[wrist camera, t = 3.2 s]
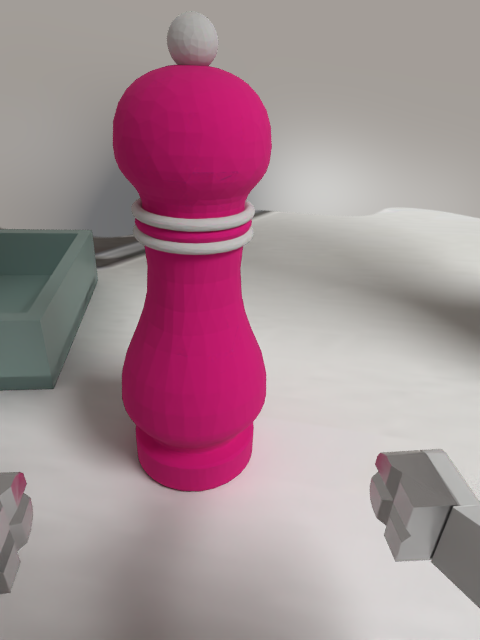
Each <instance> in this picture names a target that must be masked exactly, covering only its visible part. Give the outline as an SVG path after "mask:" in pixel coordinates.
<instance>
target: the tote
mask: <svg viewBox="0 0 480 640" xmlns="http://www.w3.org/2000/svg"><path fill="white" fill-rule="evenodd" d="M97 281H98V277H97V269H96V260H95V252H94V244H93V235H92V230H26V229H0V390H25V389H54V386H55V384H56V381H57V379H58V377H59V374H60V372H61V369H62V367H63V364H64V362H65V359H66V357H67V355H68V352H69V350H70V347H71V345H72V342H73V340H74V337H75V335H76V332H77V330H78V328H79V325H80V323H81V320H82V318H83V315H84V313H85V310H86V308H87V306H88V303H89V301H90V298H91V296H92V293H93V291H94V288H95V286H96V284H97Z"/></svg>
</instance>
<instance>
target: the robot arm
mask: <svg viewBox="0 0 480 640" xmlns="http://www.w3.org/2000/svg"><path fill="white" fill-rule="evenodd" d="M375 465H376V467H377V469H378V472H377V473H376V474H375V475H374V476H373V477H372V479H371V483H370V500H371V504H372V508H373V510H374V513H375V515H376V518H377V519H378V520H380V521H381V522H382V523H383V524H385V525H386V529H385V533H384V537H385V539H386V541H387V543H388V546H389V548H390V550H391V553H392V555H393V557H394V560H395V562H400V561H419V560H432V561H431V562H432V563H433V564H434V565H435V566H436V567H437V568H438V569H439V570H440V571H441V572H442V573H443V574H444V575H445V576H446V577H447V578H448V579H449V580H451V581H452V582H453V583H454V584H455V585H456V586H457V587H458V588H459V589H460V590H461V591H462V592H463V593H464V594H465V595H466V596H467V597H468V598H469V599H470V600H471V601H472V602H474V603H475V604H476V605H477V606H478V607H479V608H480V501H479V500H478V498H477V497H476V496H475V494H474V493H473V491H472V490H471V488H470V487H469V485H468V484H467V482H466V481H465V480H464V478H463V477H462V475H461V474H460V472H459V471H458V469H457V468H456V467H455V465H454V464H453V462H452V461H451V459H450V458H449V456H448V455H447V453H446V452H445V451H443V450H442V449H432V450H420V451H419V450H414V451H398V452H383V453H380V454H379V455H378V456H377V459H376V463H375ZM26 484H27V483H26V480H25V477H24V474H23V473H20V472H11V473H0V594H7V593H10V592H11V589H12V586H13V583H14V580H15V577H16V574H17V572H18V569H19V566H20V563H21V561H20V558H19V555H18V551H19V550H20V549H21V548H22V547H23V546H24V545H25V544H26V543H27V541H28V538H29V535H30V532H31V527H32V520H33V507H32V502H31V498H30V497H29V496H27V495H26V494H25V493H23V492H24V490H25V487H26Z"/></svg>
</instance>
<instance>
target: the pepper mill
mask: <svg viewBox="0 0 480 640" xmlns="http://www.w3.org/2000/svg"><path fill="white" fill-rule="evenodd" d="M167 45H168V49H169V52H170V54H171V57H172V58H173V60H174V61H175V62H176V63H177V64H178V65H170V66H165V67H162V68H159V69H155V70H152V71H150V72H148V73H146V74H144V75H143V76H141V77H140V78H138V79H136V80H135V81H134V82H133V83H132V84H131V85H130V86H129V87H128V88H127V89H126V91H125V93H124V94H123V96H122V97H121V99H120V101H119V102H118V106H117V109H116V113H115V117H114V120H113V149H114V155H115V159H116V162H117V164H118V167H119V169H120V170H121V172H122V173H123V174H124V176H125V177H126V178H127V179H128V180H129V181H130V183H131V184H132V185H133V186H134V187H135V188H136V190H137V191H138V193H139V195H140V198H139V199H138V200H136V201H135V202H134V203H133V204H132V207H131V210H132V214H133V215H134V217H135V226H134V228H133V234H134V237H135V238H136V239H137V240H138V241H139V242H140V243H141V244H143V245H145V252H146V258H147V265H148V271H147V294H146V299H145V304H144V308H143V311H142V314H141V317H140V320H139V322H138V325H137V327H136V330H135V332H134V335H133V337H132V340H131V342H130V345H129V348H128V350H127V353H126V357H125V362H124V366H123V371H122V399H123V403H124V406H125V409H126V411H127V413H128V415H129V416H130V418H131V419H132V421H133V422H134V423H135V424H136V440H137V452H138V458H139V461H140V464H141V466H142V467H143V469H144V470H145V471H146V473H147V474H148V475H149V476H150V477H151V478H152V479H154V480H155V481H157V482H159V483H160V484H162V485H164V486H166V487H169V488H173V489H177V490H182V491H203V490H208V489H213V488H216V487H218V486H221V485H223V484H226V483H228V482H229V481H231V480H232V479H233V478H235V477H236V476H237V475H239V474H240V473H241V472H242V471H243V469H244V468H245V467H246V465H247V464H248V462H249V460H250V457H251V453H252V442H253V421H254V420H255V419H256V417H257V416H258V414H259V413H260V411H261V409H262V407H263V404H264V401H265V397H266V371H265V366H264V361H263V357H262V352H261V350H260V347H259V345H258V343H257V340H256V338H255V336H254V334H253V331H252V329H251V327H250V324H249V321H248V318H247V315H246V313H245V309H244V304H243V299H242V294H241V275H240V267H241V258H242V250H243V246H244V245H246V244H247V243H248V242H249V241H250V240H251V239H252V237H253V234H254V233H253V228H252V227H251V223H252V221H251V219H252V217H253V216H254V214H255V209H254V206H253V205H252V204H251V203H250V202H249V201H247V200H246V199H247V196H248V194H249V193H250V191H251V190H252V189H253V188H254V187H255V186H256V185H257V183H258V182H259V181H260V180H261V179H262V177H263V176H264V174H265V173H266V171H267V168H268V165H269V161H270V155H271V148H272V144H271V126H270V122H269V118H268V114H267V111H266V109H265V107H264V105H263V103H262V101H261V100H260V98H259V96H258V95H257V94H256V92H254V90H253V89H252V88H251V87H250V86H249V85H248V84H247V83H246V82H244V81H243V80H242V79H240V78H239V77H237V76H235V75H233V74H231V73H229V72H226V71H224V70H221V69H219V68H214V67H210V66H209V65H210V64H211V62H212V61H213V60H214V58H215V56H216V54H217V50H218V37H217V33H216V30H215V27H214V25H213V24H212V23H211V22H210V21H209V20H208V18H207V17H205V16H204V15H202V14H200V13H198V12H185V13H183V14H181V15H179V16H178V17H177V18H176V19H175V20H174V21H173V22H172V23H171V25H170V27H169V31H168V35H167Z"/></svg>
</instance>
